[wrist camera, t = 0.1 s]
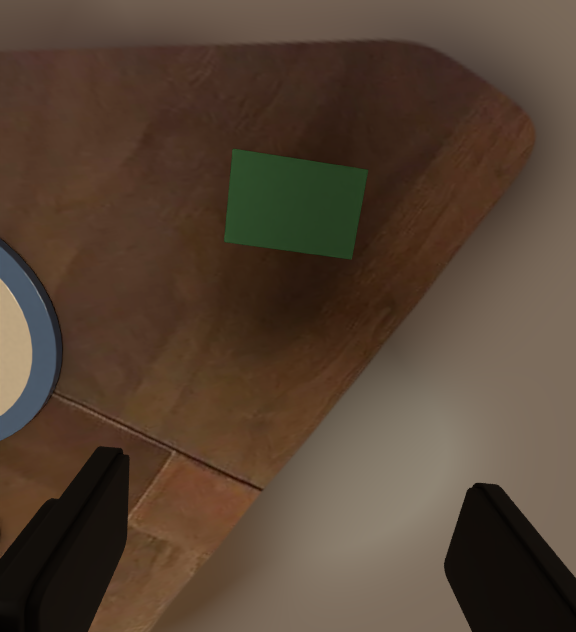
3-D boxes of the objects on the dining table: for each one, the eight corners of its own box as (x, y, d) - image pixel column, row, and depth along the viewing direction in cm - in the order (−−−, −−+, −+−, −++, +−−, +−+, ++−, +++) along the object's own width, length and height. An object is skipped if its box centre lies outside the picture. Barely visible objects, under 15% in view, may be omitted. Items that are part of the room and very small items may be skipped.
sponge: (231, 237, 25) (223, 242, 21) (239, 158, 24) (232, 148, 20) (340, 252, 26) (351, 259, 22) (353, 176, 24) (368, 169, 21)
